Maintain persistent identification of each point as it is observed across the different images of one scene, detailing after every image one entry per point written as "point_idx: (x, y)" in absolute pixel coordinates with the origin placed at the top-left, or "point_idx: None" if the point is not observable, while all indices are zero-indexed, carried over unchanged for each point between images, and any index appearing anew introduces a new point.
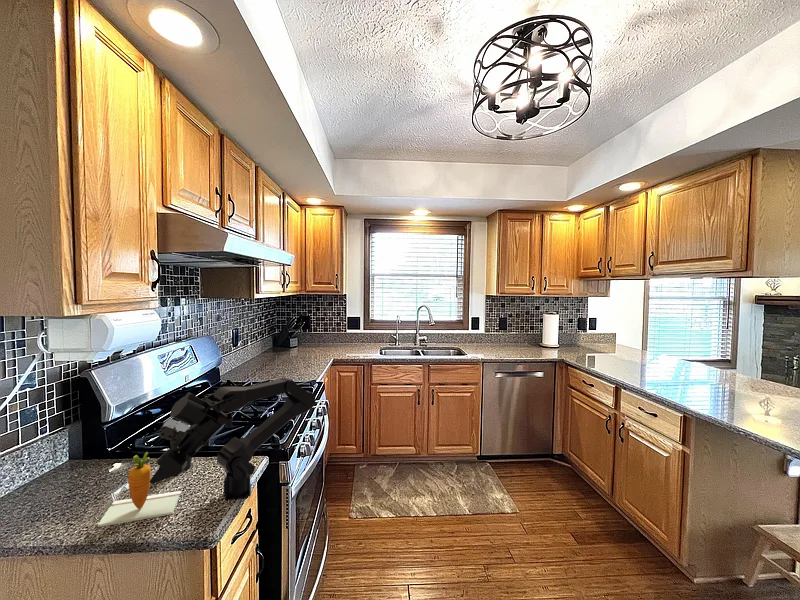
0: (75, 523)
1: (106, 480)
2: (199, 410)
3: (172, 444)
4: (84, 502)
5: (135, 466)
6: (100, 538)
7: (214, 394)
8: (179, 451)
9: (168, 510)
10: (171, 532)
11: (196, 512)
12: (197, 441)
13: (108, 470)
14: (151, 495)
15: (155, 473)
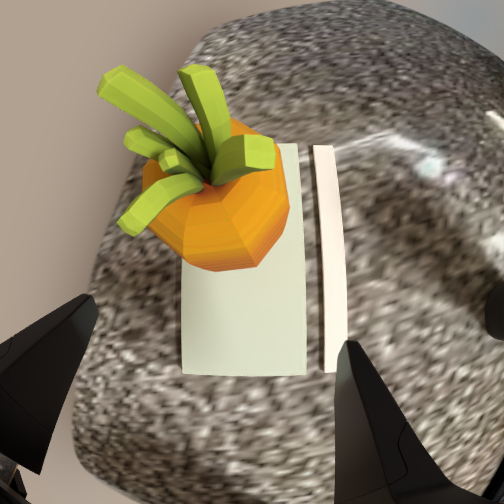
0: (238, 94)
1: (453, 109)
2: None
3: None
4: (349, 82)
5: (232, 133)
6: (129, 183)
7: None
8: (365, 485)
9: (195, 357)
10: (90, 375)
11: (174, 440)
12: None
13: (489, 109)
14: (344, 261)
15: (17, 335)
